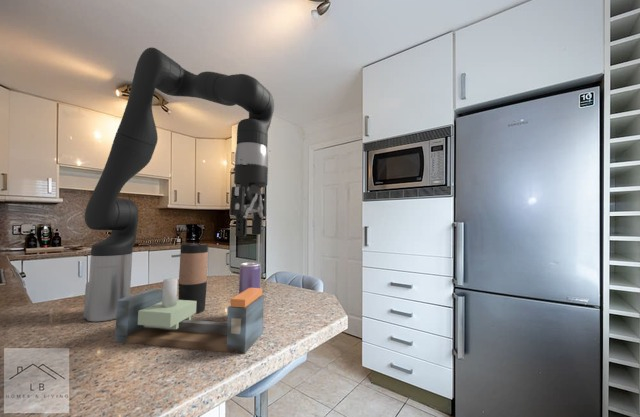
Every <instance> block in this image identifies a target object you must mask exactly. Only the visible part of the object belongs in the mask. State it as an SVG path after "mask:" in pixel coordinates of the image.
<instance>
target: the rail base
mask: <svg viewBox="0 0 640 417" xmlns="http://www.w3.org/2000/svg"><path fill="white" fill-rule="evenodd" d="M162 295H163V288H162V289H161V288H160V289H159V288H158V289H157V288H151V289H148V290H146V291H142V292H139V293H135V294H133V295H130V296H129V297H126V298H123V299H119V300H117V313H116V319H115V331H114V332H115V333H114V342H115V343H125V344H127V343H128V344H137V345H148V346H160V347H169V348H179V349H181V348H182V349H189V350H190V349H192V350H202V351H213V352H225V353H232V354H234V353H236V354H246V353H247V352H248V351H249V349H250V348H251V347H252V346H253V345H254V344H255V342H257V340H259V338H260V337H261V335H262V334H264V303H265V302H264V300H265V298H264V297H265V295H263V294H262V295H261V296H260V297H259V298H257V299H256V300H255V301H253V302H252V303H250V304H249V305H248V306H246V307H245V308H243V307H230V306H228V307H227V322H224V321H223V322H222V321H221V322H220V321H209V320H195V319H191V320H183V321H181V322H179V328H178V329H165V328H152V327H144V325H138V311H139V310H142V309H144V308H147V307H149V306H152V305H155V304H157V303H160V302H162Z"/></svg>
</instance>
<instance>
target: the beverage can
mask: <svg viewBox="0 0 640 417" xmlns="http://www.w3.org/2000/svg"><path fill="white" fill-rule="evenodd" d="M261 264H262V263H260V262H243V263H242V262H241V263H240V266H239V272H238V273H239V277H238V279H239V280H238V294H240V293H242V292H243V291H245V290H247V289H248V288H262V286H261V285H262V283H261V282H262V266H261Z"/></svg>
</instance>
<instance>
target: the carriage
mask: <svg viewBox="0 0 640 417" xmlns="http://www.w3.org/2000/svg"><path fill="white" fill-rule="evenodd" d="M178 286H179V278H167V279H163V281H162V290H163V295H162V302H160V303H157V304H155V305H152V306H149V307H147V308H144V309H142V310H139V311H138V325H144V327H152V328H165V329H178V328H179V322H181V321H183V320H192V316H193V315H196V314H195V313H196V303H197V301H190V300H179V299H178Z"/></svg>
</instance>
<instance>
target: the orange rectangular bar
mask: <svg viewBox="0 0 640 417" xmlns="http://www.w3.org/2000/svg"><path fill="white" fill-rule="evenodd" d="M261 295H263V288H262V287H261V288H248V289H247V290H245V291H243V292H242V293H240V294H239V293H238V294H237V295H234V296H233V297H232V298H230V306H229V307H243V308H245V307H246V306H248V305H249V304H250V303H252V302H253V301H255V300H256V299H257V298H259V297H260V296H261Z"/></svg>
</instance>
